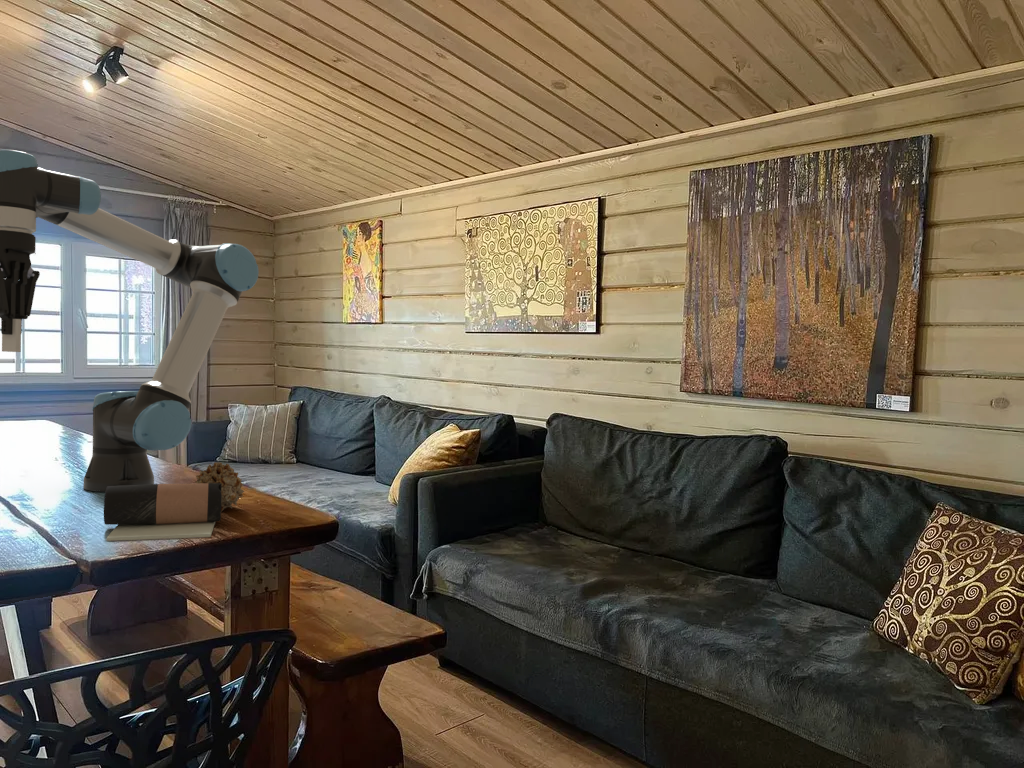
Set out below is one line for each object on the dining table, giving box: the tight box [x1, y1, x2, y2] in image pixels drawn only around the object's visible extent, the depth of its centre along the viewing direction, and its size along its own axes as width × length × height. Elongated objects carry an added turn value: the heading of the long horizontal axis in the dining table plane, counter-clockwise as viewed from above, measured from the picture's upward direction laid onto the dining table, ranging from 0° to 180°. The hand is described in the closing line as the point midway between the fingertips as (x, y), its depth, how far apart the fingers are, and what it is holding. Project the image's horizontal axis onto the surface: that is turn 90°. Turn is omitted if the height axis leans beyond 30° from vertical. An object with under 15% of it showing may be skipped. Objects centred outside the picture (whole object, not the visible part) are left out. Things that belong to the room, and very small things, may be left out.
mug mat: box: [106, 522, 216, 542], centre depth 138 cm, size 17×13×1 cm
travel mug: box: [103, 482, 222, 526], centre depth 141 cm, size 8×8×20 cm
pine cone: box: [194, 461, 245, 513], centre depth 155 cm, size 22×10×10 cm, turn 38°
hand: (11, 351), depth 145 cm, fingers closed
